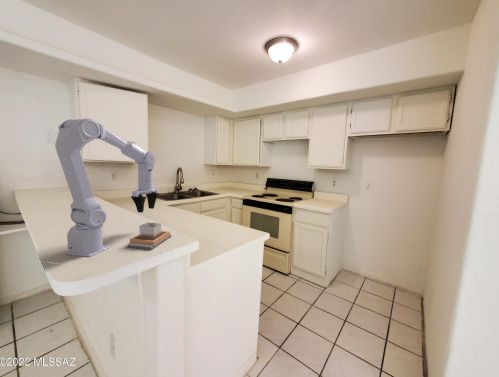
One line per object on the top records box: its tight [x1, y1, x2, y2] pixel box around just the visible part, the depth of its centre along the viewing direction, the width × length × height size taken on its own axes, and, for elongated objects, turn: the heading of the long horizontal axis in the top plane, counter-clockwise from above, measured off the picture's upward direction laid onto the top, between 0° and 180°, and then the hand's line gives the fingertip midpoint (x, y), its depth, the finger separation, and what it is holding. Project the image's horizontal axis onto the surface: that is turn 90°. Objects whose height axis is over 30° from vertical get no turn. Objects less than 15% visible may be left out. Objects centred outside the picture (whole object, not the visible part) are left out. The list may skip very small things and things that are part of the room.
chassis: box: [127, 230, 172, 251], centre depth 82 cm, size 10×14×3 cm
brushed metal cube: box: [138, 222, 162, 241], centre depth 81 cm, size 6×5×6 cm
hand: (146, 210), depth 91 cm, fingers open, 7 cm apart
